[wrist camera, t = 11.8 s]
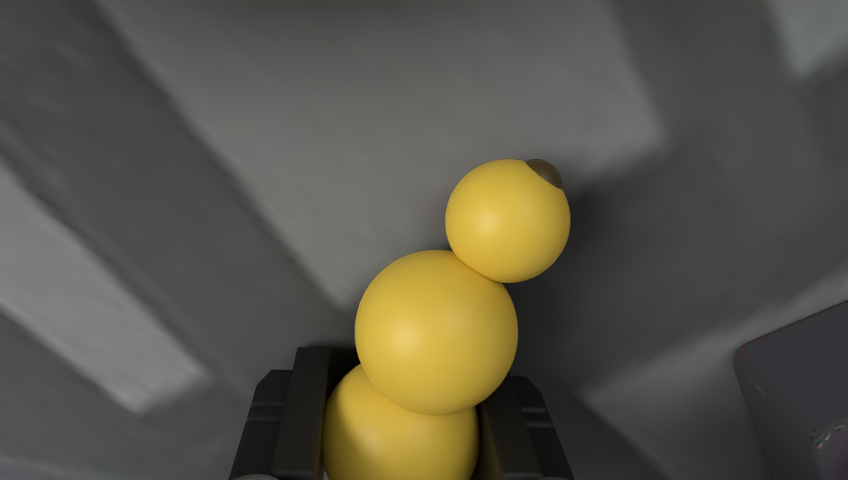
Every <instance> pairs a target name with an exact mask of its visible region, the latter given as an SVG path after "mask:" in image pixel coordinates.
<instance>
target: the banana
mask: <svg viewBox="0 0 848 480" xmlns="http://www.w3.org/2000/svg"><path fill="white" fill-rule="evenodd" d="M445 226H446V234H447V238H448V241H449V243H450V246H451V248H452V250H453V251H447V250H426V251H420V252H416V253H412V254H409V255H406V256H404V257H402V258H400V259H398V260H396V261H394V262H393V263H391V264H390V265H388V266H387V267H386V268H384V269H383V270H382V271H381V272H380V273H379V274H378V275H377V276H376V277H375V278H374V280H373V281H372V282H371V283H370V285H369V286H368V288H367V290H366V291H365V293H364V295H363V297H362V300H361V302H360V304H359V308H358V311H357V316H356V322H355V343H356V348H357V353H358V357H359V360H360V362H361V364H359V365H358V366H356V367H355V368H353V369H352V370H351V371H350V372H349V373H348V374H346V375H345V376H344V377H343V378H342V380H341V381H340V382H339V383H338V384H337V386H336V387H335V389H334V390H333V392H332V393H331V395H330V397H329V399H328V401H327V404H326V409H325V417H324V429H323V447H322V461H323V465H324V468H325V471H326V474H327V476H328V478H329V480H470V478H471V476H472V474H473V471H474V469H475V467H476V463H477V459H478V455H479V446H480V428H479V419H478V413H477V409H476V406H475V405H477V404H478V403H480V402H482V401H483V400H484V399H486V398H487V397H488V396H489V395H490V394H492V393H493V392H494V391H495V390H496V389H497V387H498V386H499V385H500V384H501V383H502V381H503V380H504V378H505V377H506V375H507V373H508V371H509V370H510V367H511V365H512V363H513V360H514V357H515V353H516V349H517V343H518V322H517V317H516V312H515V308H514V305H513V303H512V300H511V298H510V296H509V294H508V292H507V290H506V289H505V287H504V285H503V284H502V283H515V282H521V281H525V280H528V279H531V278H533V277H535V276H537V275H539V274H541V273H542V272H544V271H545V270H546V269H548V268H549V267H550V266H551V265H552V264H553V263H554V262H555V261H556V260H557V258H558V257H559V256H560V254H561V252H562V251H563V249H564V247H565V245H566V242H567V239H568V236H569V231H570V210H569V205H568V202H567V199H566V197H565V194H564V192H563V191H562V181H561V177H560V174H559V172H558V171H557V169H556V168H555V167H554V166H553V165H552V164H550V163H549V162H547V161H544V160H539V159H533V160H528V161H522V160H516V159H500V160H495V161H491V162H487V163H485V164H482V165H480V166H478V167H477V168H475V169H473V170H472V171H470V172H469V173H468V174H467V175H466V176H465V177H463V178H462V179H461V181H460V182H459V183H458V184H457V186H456V187H455V189H454V190H453V192H452V194H451V196H450V199H449V202H448V205H447V209H446V214H445Z"/></svg>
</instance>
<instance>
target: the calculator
mask: <svg viewBox="0 0 848 480" xmlns="http://www.w3.org/2000/svg"><path fill="white" fill-rule="evenodd" d="M733 364H734V369H735V372H736V375H737V378H738V381H739V384H740V387H741V390H742V393H743V396H744V398H745V401H746V404H747V407H748V410H749V413H750V416H751V419H752V422H753V424H754V427H755V430H756V433H757V436H758V439H759V442H760V445H761V447H762V450H763V453H764V456H765V459H766V462H767V465H768V468H769V470H770V473H771V476H772V479H773V480H848V301H847V302H844V303H842V304H840V305H837V306H835V307H832V308H830V309H828V310H825V311H823V312H821V313H818V314H816V315H813V316H811V317H809V318H806V319H804V320H802V321H799V322H797V323H794V324H792V325H790V326H787V327H785V328H783V329H780V330H778V331H775V332H773V333H771V334H768V335H766V336H763V337H761V338H759V339H756V340H754V341H752V342H750V343H748V344H746V345H744V346H742V347H741V348H740V349H739V350H738V351H737V353H736V354H735V356H734V361H733Z"/></svg>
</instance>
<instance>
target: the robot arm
mask: <svg viewBox="0 0 848 480" xmlns="http://www.w3.org/2000/svg"><path fill="white" fill-rule="evenodd" d="M331 358H332V350H331V348H313V347H298V349H297V353H296V357H295V362H294V366H293V370H271V371H270V372H269V373H268V374H267V375H266V376H265V377H264V378H263V379H262V380H261V381H260V382H259V383H258V385H257V387H256V390H255V393H254V397H253V400H252V404H251V407H250V410H249V413H248V417H247V422H246V423H245V427H244V430H243V433H242V437H241V440H240V443H239V447H238V450H237V453H236V457H235V460H234V463H233V467H232V470H231V473H230V477H229V480H323V478H324V469H325V468H324V465H323V461H322V447H323V429H324V417H325V409H326V404H327V401H328V399H329V397H330V395H331ZM475 406H476V409H477V413H478V419H479V428H480V446H479V455H478V459H477V463H476V467H475V469H474V471H473V474H472V476H471V478H470V480H574V477H573V474H572V472H571V469H570V467H569V464H568V462H567V459H566V456H565V454H564V451H563V449H562V446H561V443H560V441H559V438H558V436H557V433H556V430H555V428H553V423H552V420H551V417H550V415H549V413H547V407H546V405H545V402H544V399H543V397H542V394H541V392H540V391H539V390H538V389H537V388H536V387H535V386H534V385H533V384H532V383H531V382H530V381H529V380H528V378H527V377H518V376H510V372H509V371H508V373H507V375H506V377H505V378H504V380H503V381H502V383H501V384H500V385H499V386H498V387H497V389H496V390H495V391H494V392H493V393H492V394H490V395H489V396H488V397H487V398H486V399H484V400H483V401H482V402H480V403H478V404H477V405H475Z"/></svg>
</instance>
